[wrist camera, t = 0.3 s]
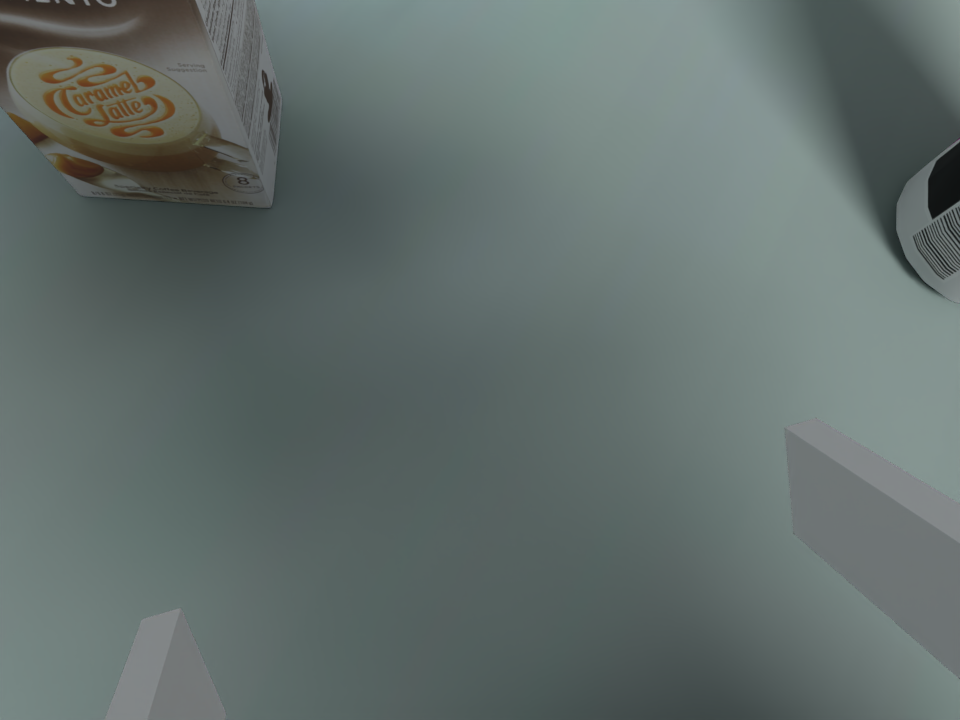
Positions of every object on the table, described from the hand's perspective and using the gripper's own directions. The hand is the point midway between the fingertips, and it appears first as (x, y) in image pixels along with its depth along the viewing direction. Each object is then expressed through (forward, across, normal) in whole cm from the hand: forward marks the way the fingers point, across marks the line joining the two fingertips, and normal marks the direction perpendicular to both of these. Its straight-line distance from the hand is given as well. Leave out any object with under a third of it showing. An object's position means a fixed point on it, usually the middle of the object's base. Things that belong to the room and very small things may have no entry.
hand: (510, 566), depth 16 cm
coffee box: (+26, +8, -10) cm, 29 cm away
